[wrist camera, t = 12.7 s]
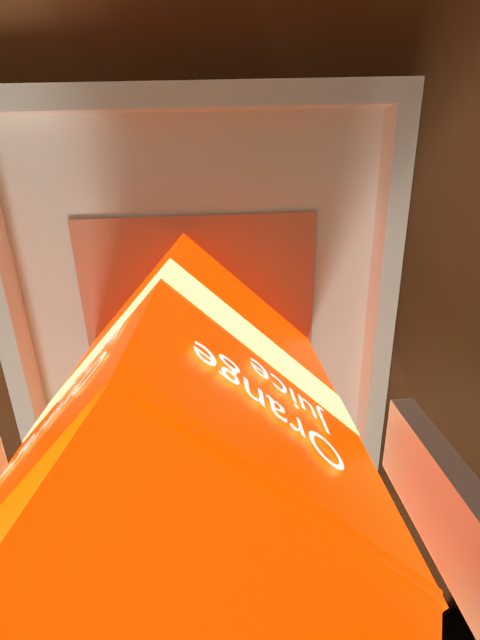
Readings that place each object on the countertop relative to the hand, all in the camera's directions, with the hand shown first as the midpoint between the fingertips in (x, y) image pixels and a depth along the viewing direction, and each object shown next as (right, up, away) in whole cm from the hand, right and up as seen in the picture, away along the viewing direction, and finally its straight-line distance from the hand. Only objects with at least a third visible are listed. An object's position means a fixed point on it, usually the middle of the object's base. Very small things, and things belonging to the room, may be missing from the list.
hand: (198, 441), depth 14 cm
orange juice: (-1, +3, +8) cm, 9 cm away
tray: (-1, +3, +9) cm, 10 cm away
